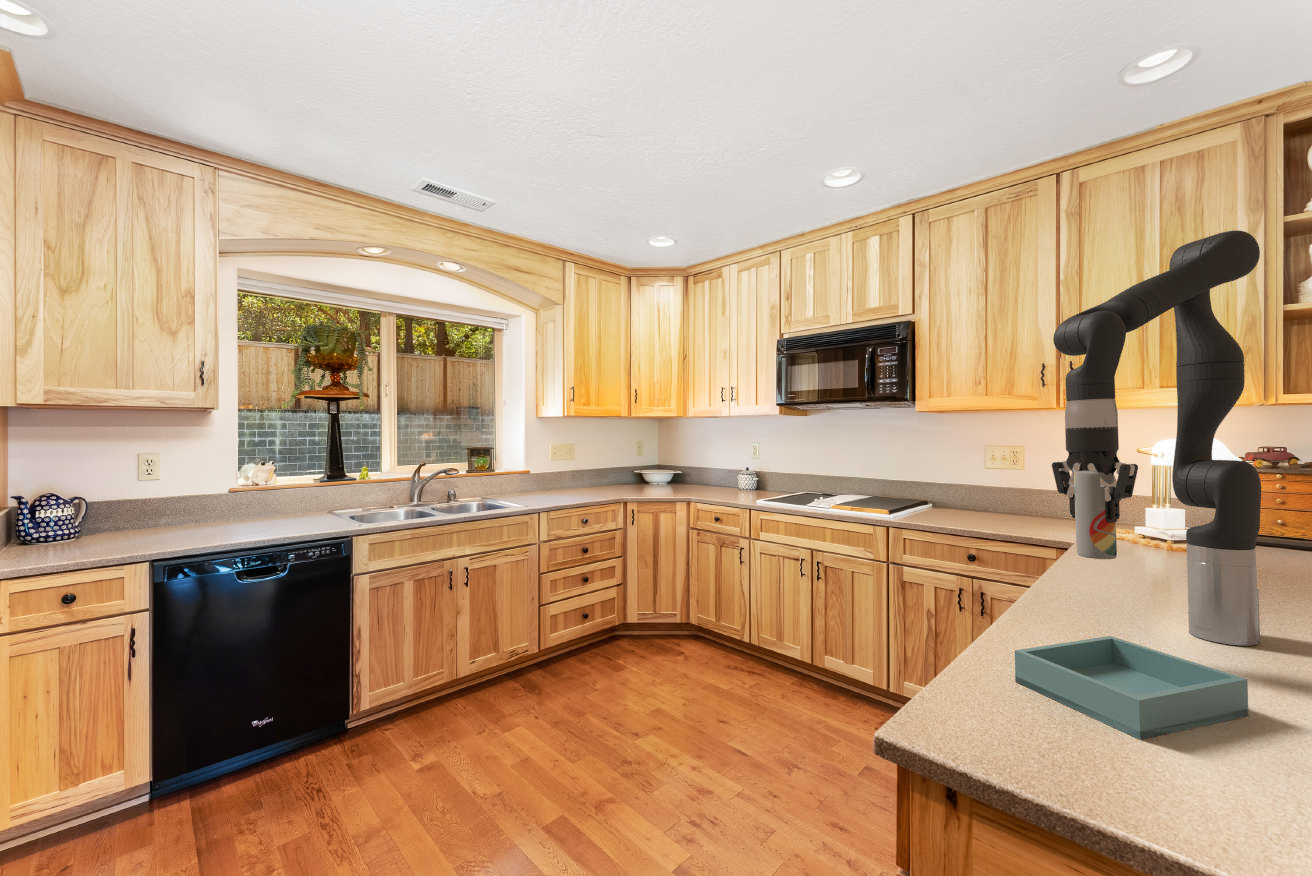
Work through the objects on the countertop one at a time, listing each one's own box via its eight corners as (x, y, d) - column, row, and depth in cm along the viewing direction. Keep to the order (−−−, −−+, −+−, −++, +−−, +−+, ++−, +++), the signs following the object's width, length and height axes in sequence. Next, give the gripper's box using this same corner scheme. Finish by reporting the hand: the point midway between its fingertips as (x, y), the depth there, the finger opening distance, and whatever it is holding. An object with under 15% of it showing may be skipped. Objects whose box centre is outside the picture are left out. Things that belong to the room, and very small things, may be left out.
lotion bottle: (1124, 560, 97) (1120, 444, 98) (1087, 559, 99) (1083, 445, 99) (1105, 553, 103) (1101, 444, 103) (1070, 552, 104) (1066, 444, 104)
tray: (1110, 665, 94) (1109, 635, 94) (1248, 715, 77) (1247, 678, 77) (1015, 681, 89) (1014, 650, 89) (1140, 739, 71) (1139, 700, 72)
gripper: (1150, 423, 95) (1153, 524, 95) (1068, 426, 109) (1071, 514, 109) (1117, 424, 93) (1120, 527, 93) (1037, 427, 107) (1040, 516, 107)
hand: (1093, 519), depth 101 cm, fingers closed on lotion bottle, 5 cm apart
